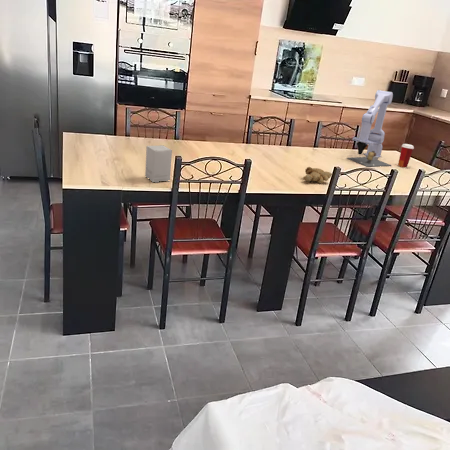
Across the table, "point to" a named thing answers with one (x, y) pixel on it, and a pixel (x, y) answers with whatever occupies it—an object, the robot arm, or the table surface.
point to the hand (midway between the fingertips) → (359, 154)
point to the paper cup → (405, 155)
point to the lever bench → (369, 161)
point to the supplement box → (158, 163)
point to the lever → (371, 155)
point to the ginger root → (316, 175)
